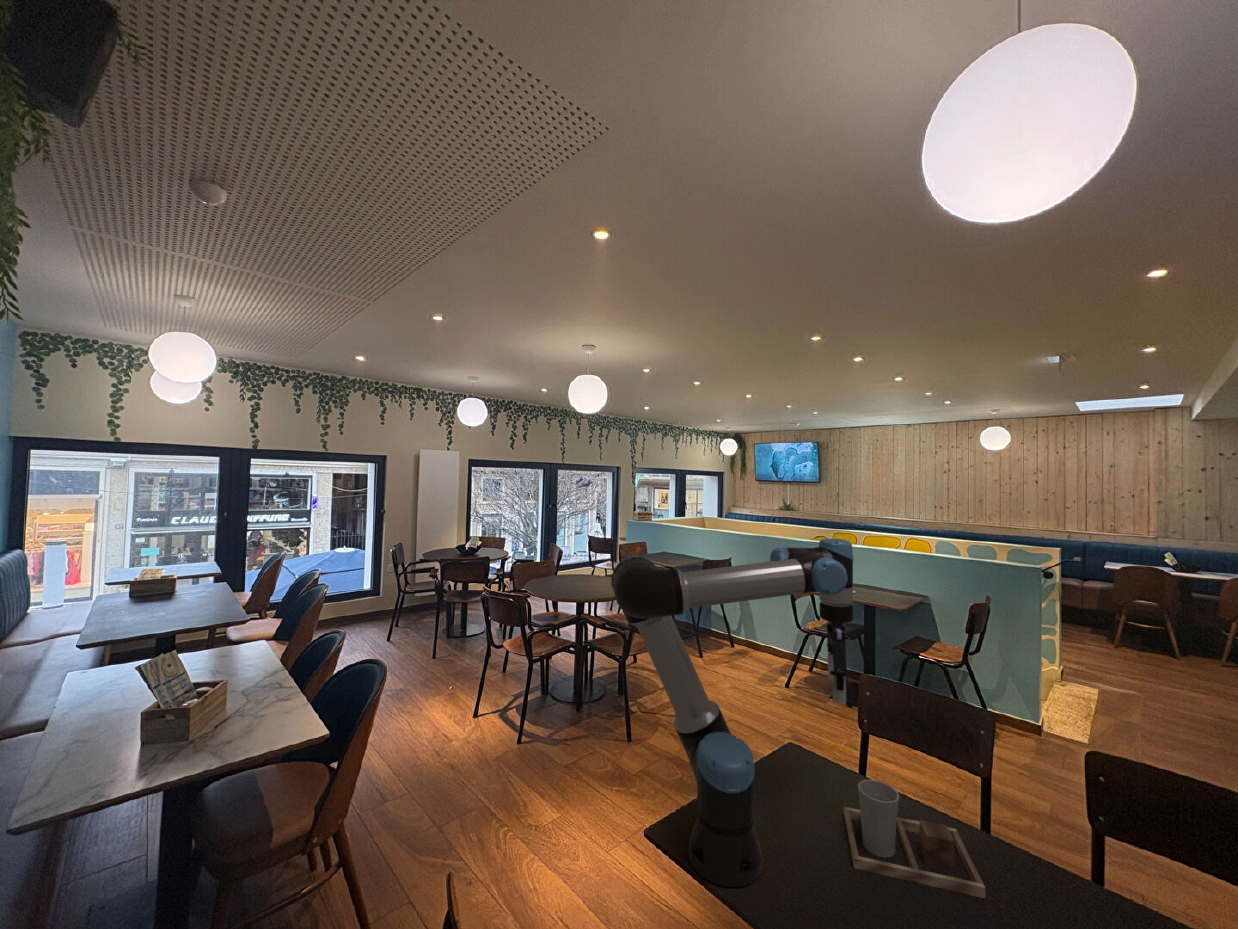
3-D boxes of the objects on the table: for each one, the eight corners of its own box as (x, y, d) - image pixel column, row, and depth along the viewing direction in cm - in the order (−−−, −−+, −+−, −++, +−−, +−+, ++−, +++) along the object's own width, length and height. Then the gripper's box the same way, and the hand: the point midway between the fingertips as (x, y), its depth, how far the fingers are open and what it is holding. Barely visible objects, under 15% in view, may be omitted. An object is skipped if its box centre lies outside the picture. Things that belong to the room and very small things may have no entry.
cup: (905, 863, 104) (904, 805, 104) (864, 857, 105) (863, 799, 106) (892, 836, 112) (892, 782, 112) (854, 831, 113) (854, 777, 114)
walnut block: (926, 865, 104) (926, 835, 104) (919, 848, 108) (919, 820, 108) (954, 871, 102) (953, 841, 102) (946, 853, 107) (946, 825, 107)
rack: (853, 868, 102) (853, 858, 102) (844, 815, 118) (844, 806, 119) (985, 898, 95) (985, 888, 95) (955, 838, 111) (955, 828, 111)
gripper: (860, 618, 108) (861, 716, 108) (846, 593, 132) (846, 673, 131) (823, 614, 111) (823, 711, 110) (816, 590, 134) (816, 670, 134)
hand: (836, 691), depth 121 cm, fingers open, 13 cm apart
